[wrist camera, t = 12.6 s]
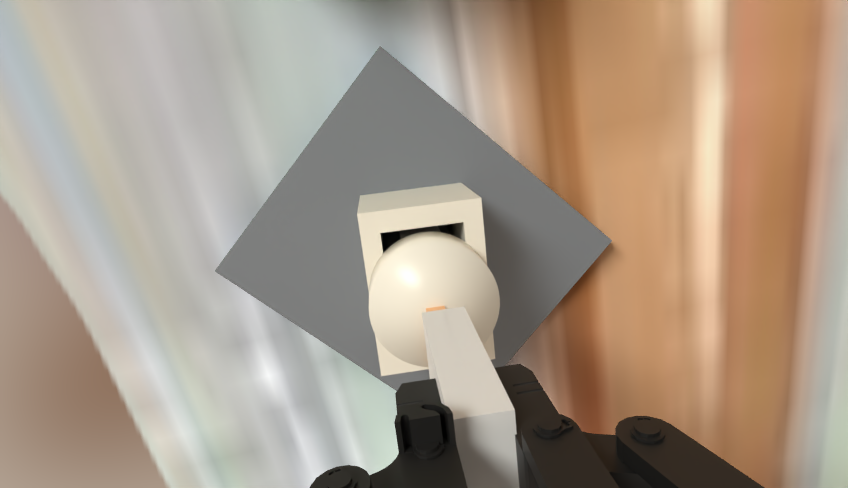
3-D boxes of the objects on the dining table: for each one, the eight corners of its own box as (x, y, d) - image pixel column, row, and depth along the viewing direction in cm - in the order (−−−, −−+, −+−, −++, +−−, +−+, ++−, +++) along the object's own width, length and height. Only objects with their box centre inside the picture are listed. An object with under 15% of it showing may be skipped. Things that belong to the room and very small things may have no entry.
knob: (360, 195, 28) (354, 226, 20) (461, 182, 28) (495, 208, 20) (379, 330, 30) (382, 406, 22) (473, 316, 30) (509, 387, 22)
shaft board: (379, 49, 27) (381, 30, 21) (603, 236, 31) (657, 264, 25) (221, 265, 29) (181, 303, 23) (449, 416, 33) (465, 482, 27)
